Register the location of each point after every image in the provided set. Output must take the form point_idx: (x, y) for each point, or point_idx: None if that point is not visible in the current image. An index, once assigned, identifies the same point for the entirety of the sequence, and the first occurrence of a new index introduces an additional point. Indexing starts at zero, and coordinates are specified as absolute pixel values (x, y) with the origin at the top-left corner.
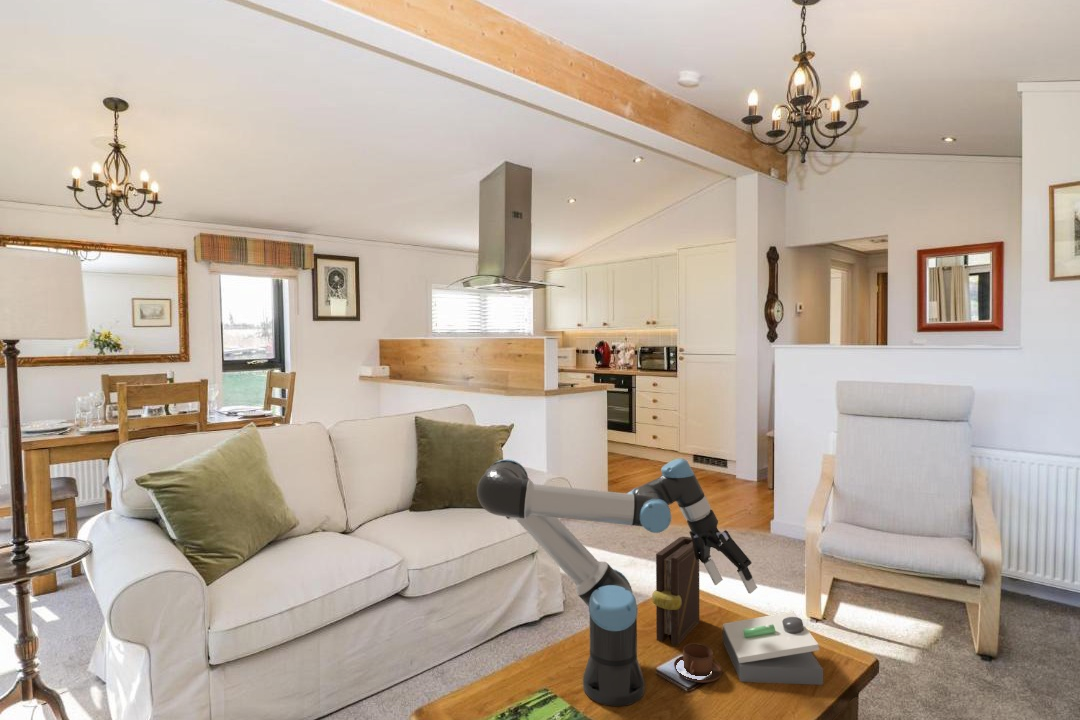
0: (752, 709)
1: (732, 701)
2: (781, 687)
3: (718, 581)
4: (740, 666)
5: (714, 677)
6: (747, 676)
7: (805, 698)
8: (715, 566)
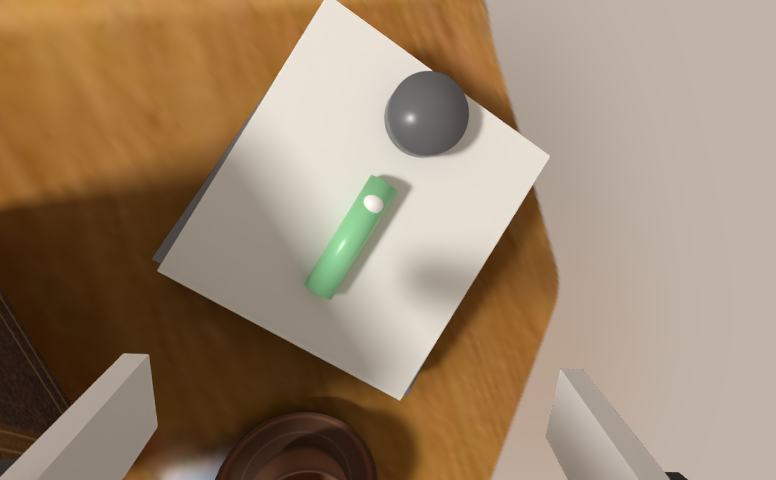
0: (497, 440)
1: (452, 470)
2: None
3: (147, 404)
4: (405, 395)
5: (348, 455)
6: None
7: (516, 275)
8: (49, 473)
